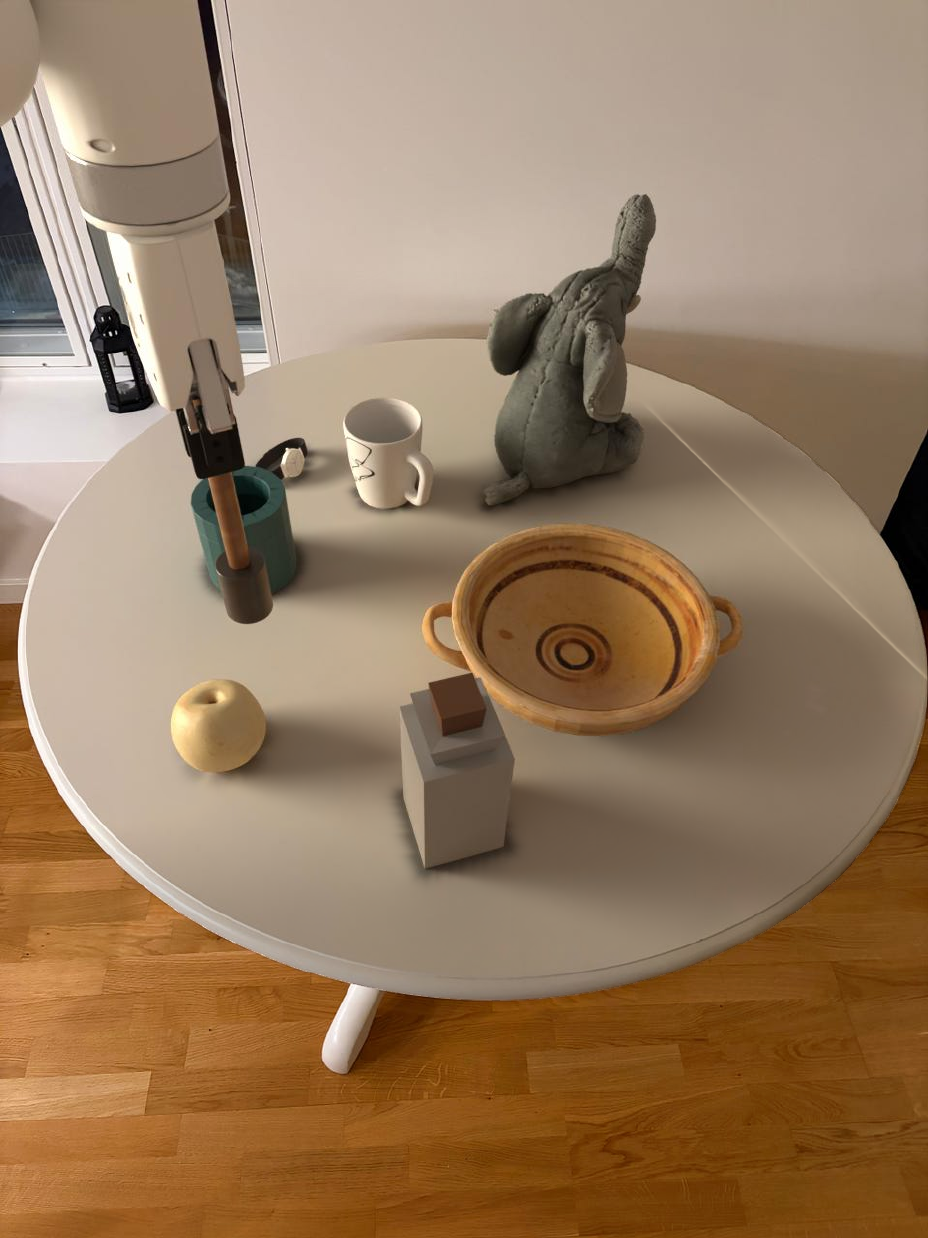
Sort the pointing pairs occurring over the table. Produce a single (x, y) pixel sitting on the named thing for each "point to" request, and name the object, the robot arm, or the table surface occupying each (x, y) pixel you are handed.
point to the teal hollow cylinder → (250, 523)
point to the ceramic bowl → (584, 628)
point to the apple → (218, 725)
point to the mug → (387, 452)
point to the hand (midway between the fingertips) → (215, 459)
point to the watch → (286, 458)
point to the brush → (238, 558)
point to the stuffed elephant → (570, 369)
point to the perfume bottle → (455, 770)
